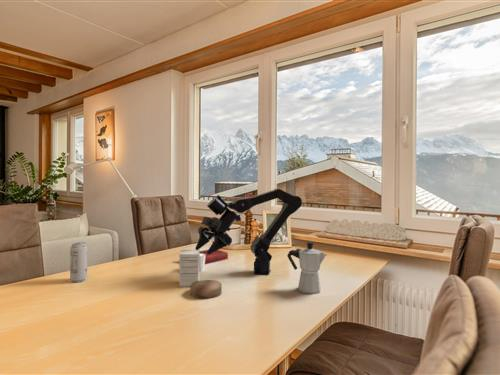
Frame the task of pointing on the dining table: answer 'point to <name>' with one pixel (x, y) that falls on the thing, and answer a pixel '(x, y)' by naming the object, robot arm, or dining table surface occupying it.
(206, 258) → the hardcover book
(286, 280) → the dining table surface
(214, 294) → the walnut pedestal
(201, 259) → the shot glass
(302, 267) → the coffee maker
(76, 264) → the energy drink can
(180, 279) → the supplement box
